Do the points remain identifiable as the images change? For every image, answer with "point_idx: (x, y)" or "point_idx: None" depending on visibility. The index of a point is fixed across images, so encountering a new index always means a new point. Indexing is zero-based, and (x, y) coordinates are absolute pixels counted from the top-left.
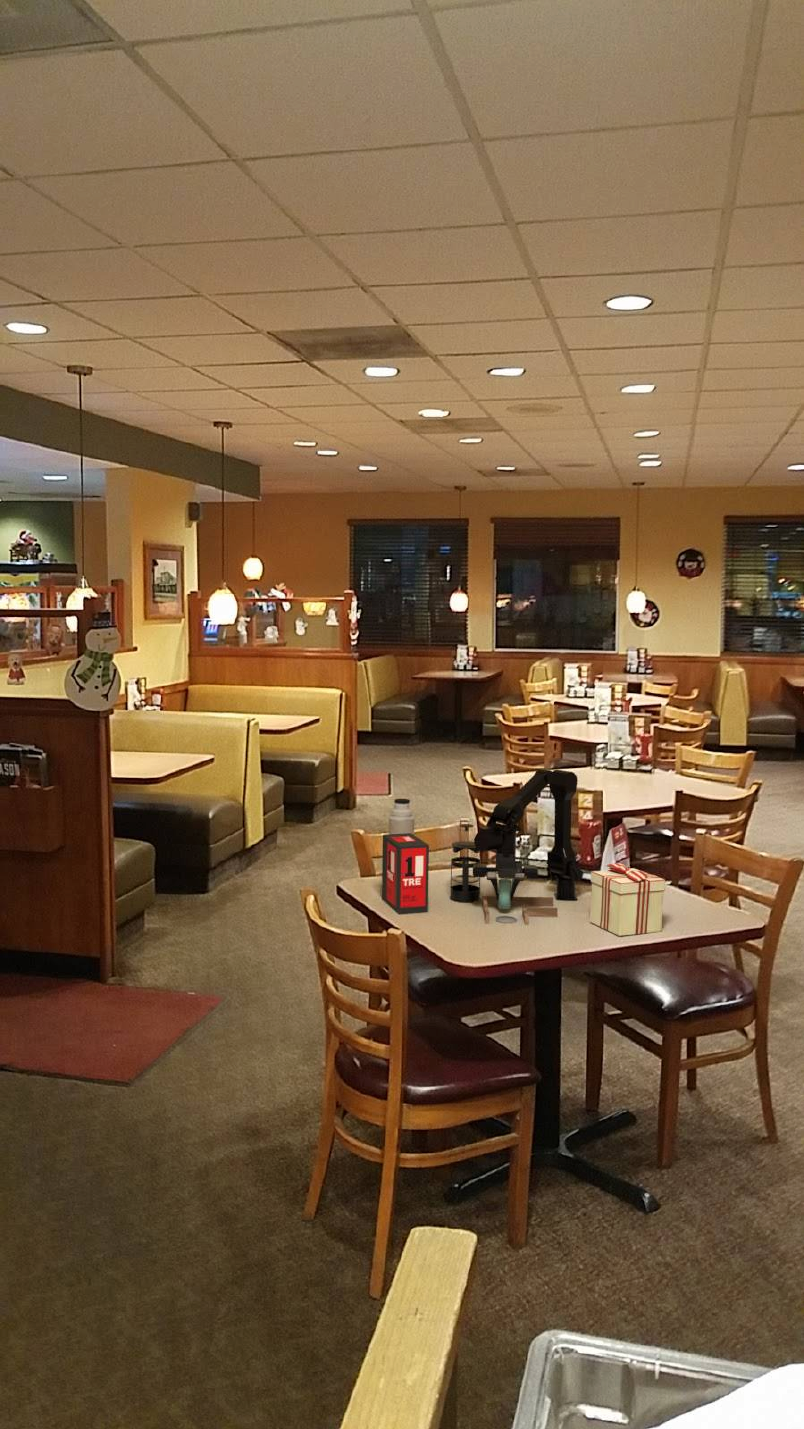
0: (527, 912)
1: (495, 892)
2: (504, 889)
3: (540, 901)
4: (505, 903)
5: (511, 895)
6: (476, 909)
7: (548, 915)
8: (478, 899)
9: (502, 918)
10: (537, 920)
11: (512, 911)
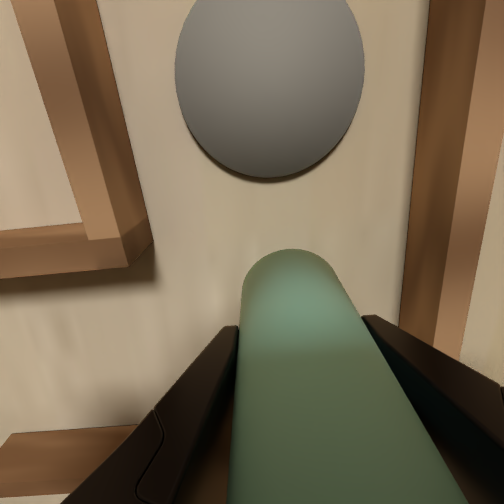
0: (35, 72)
1: (449, 358)
2: (338, 382)
3: (64, 456)
4: (286, 270)
5: (223, 353)
6: (466, 321)
7: None
8: None
9: (301, 96)
10: (11, 126)
11: (229, 317)
